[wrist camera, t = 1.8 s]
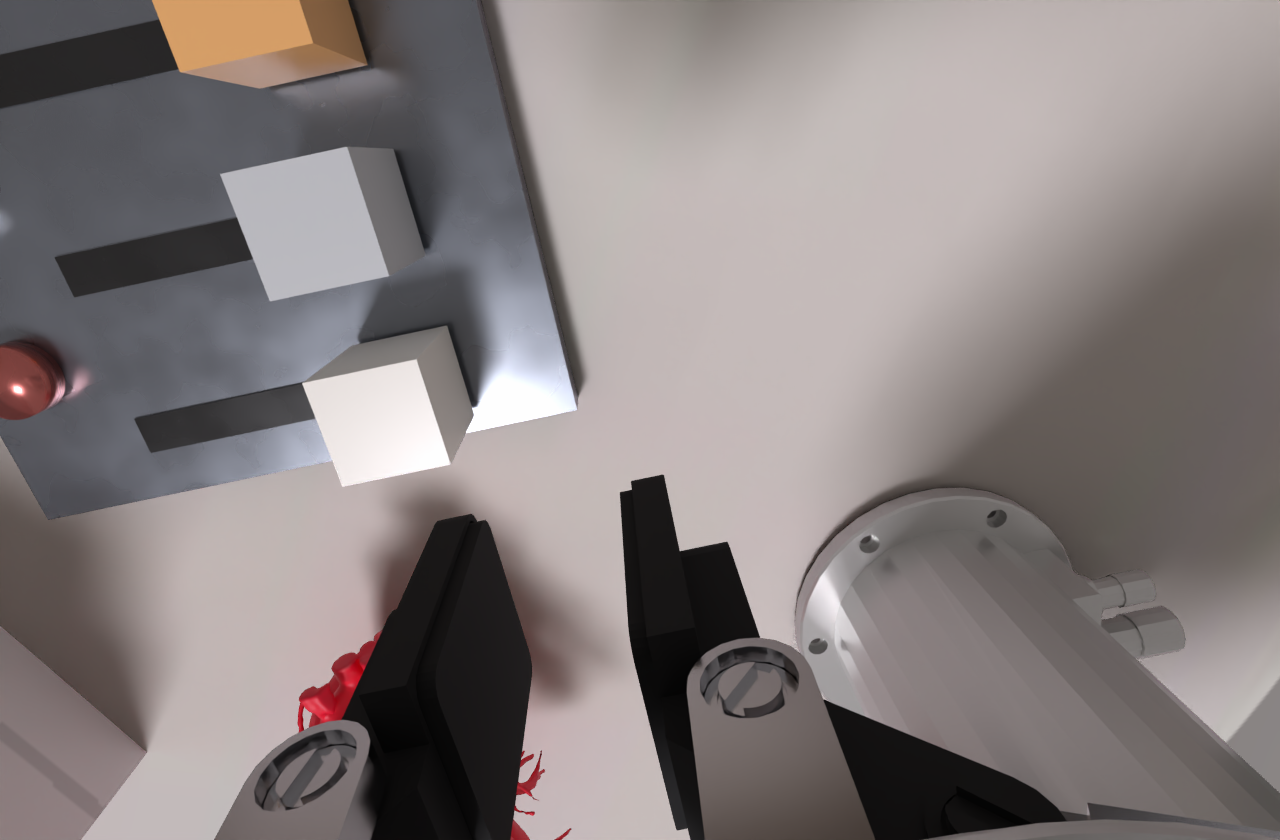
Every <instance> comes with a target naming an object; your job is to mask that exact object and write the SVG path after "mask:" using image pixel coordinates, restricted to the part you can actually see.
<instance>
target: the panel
mask: <svg viewBox="0 0 1280 840" xmlns="http://www.w3.org/2000/svg"><path fill="white" fill-rule="evenodd" d="M348 2H349V5H350V9H351V12H352V15H353V18H354V22H355V25H356V28H357V32H358V35H359V38H360V41H361V45H362V48H363V51H364V55H365V58H366V61H367V64H368V65H366V66H361V67H357V68H352V69H348V70H343V71H339V72H334V73H329V74H325V75H320V76H316V77H311V78H306V79H302V80H297V81H293V82H288V83H284V84H279V85H274V86H270V87H265V88H261V89H259V88H254V87H249V86H244V85H239V84H235V83H230V82H225V81H220V80H215V79H210V78H205V77H200V76H196V75H191V74H186V73H181V72H180V71H179V68H178V66H177V63H176V61H175V58H174V56H173V53H172V50H171V48H170V45H169V43H168V40H167V38H166V35H165V33H164V30H163V27H162V25H161V22H160V20H159V17H158V15H157V12H156V10H155V7H154V5H153V2H152V0H0V436H1V438H2V440H3V441H4V443H5V445H6V447H7V448H8V450H9V452H10V454H11V455H12V457H13V459H14V461H15V462H16V464H17V466H18V468H19V469H20V471H21V473H22V475H23V476H24V478H25V480H26V482H27V483H28V485H29V487H30V489H31V491H32V492H33V494H34V496H35V498H36V499H37V501H38V503H39V505H40V506H41V508H42V510H43V512H44V513H45V515H46V517H47V519H48V520H50V519H55V518H60V517H64V516H69V515H74V514H79V513H84V512H88V511H93V510H98V509H103V508H108V507H112V506H117V505H122V504H127V503H132V502H137V501H141V500H146V499H151V498H156V497H161V496H165V495H170V494H175V493H180V492H185V491H189V490H194V489H199V488H204V487H209V486H214V485H218V484H223V483H228V482H233V481H238V480H242V479H247V478H252V477H257V476H262V475H266V474H271V473H276V472H281V471H286V470H291V469H295V468H300V467H305V466H310V465H315V464H319V463H324V462H329V461H332V459H331V456H330V453H329V451H328V448H327V446H326V443H325V441H324V438H323V436H322V433H321V431H320V428H319V425H318V423H317V420H316V418H315V415H314V413H313V410H312V408H311V405H310V402H309V400H308V397H307V395H306V392H305V390H304V387H303V385H302V383H303V382H304V381H306V380H307V379H308V378H310V377H311V376H312V375H314V374H315V373H316V372H318V371H319V370H320V369H321V368H323V367H324V366H325V365H327V364H328V363H329V362H331V361H332V360H333V359H335V358H336V357H337V356H339V355H340V354H341V353H343V352H344V351H345V350H347V349H348V348H349V347H351V346H352V345H357V344H362V343H366V342H371V341H376V340H381V339H385V338H390V337H395V336H399V335H404V334H409V333H414V332H418V331H423V330H428V329H433V328H437V327H442V326H447V327H448V330H449V334H450V337H451V340H452V343H453V347H454V350H455V353H456V357H457V360H458V363H459V366H460V370H461V373H462V376H463V380H464V383H465V386H466V389H467V393H468V396H469V399H470V403H471V406H472V409H473V412H474V417H473V419H472V421H471V424H470V426H469V428H468V430H467V432H466V433H469V432H473V431H478V430H483V429H488V428H493V427H497V426H502V425H507V424H512V423H517V422H522V421H526V420H531V419H536V418H541V417H546V416H550V415H555V414H560V413H565V412H570V411H574V410H577V406H578V394H577V390H576V386H575V382H574V378H573V374H572V370H571V366H570V362H569V358H568V354H567V350H566V346H565V341H564V337H563V333H562V329H561V325H560V321H559V317H558V313H557V309H556V305H555V301H554V297H553V293H552V288H551V284H550V280H549V276H548V272H547V268H546V264H545V260H544V256H543V252H542V248H541V244H540V240H539V235H538V231H537V227H536V223H535V219H534V215H533V211H532V207H531V203H530V199H529V195H528V191H527V187H526V182H525V178H524V174H523V170H522V166H521V162H520V158H519V154H518V150H517V146H516V142H515V138H514V133H513V129H512V125H511V121H510V117H509V113H508V109H507V105H506V101H505V97H504V93H503V89H502V85H501V80H500V76H499V72H498V68H497V64H496V60H495V56H494V52H493V48H492V44H491V40H490V36H489V32H488V27H487V23H486V19H485V15H484V11H483V7H482V3H481V0H348ZM343 147H366V148H388V149H393V150H394V153H395V156H396V160H397V163H398V166H399V169H400V173H401V176H402V179H403V183H404V186H405V189H406V192H407V196H408V199H409V202H410V206H411V209H412V212H413V215H414V219H415V222H416V225H417V229H418V232H419V235H420V238H421V242H422V245H423V248H424V252H425V255H426V256H424V257H422V258H421V259H419V260H417V261H415V262H413V263H412V264H410V265H408V266H406V267H405V268H403V269H401V270H399V271H397V272H396V273H394V274H392V275H390V276H388V277H383V278H378V279H373V280H369V281H364V282H359V283H355V284H350V285H345V286H340V287H336V288H331V289H326V290H322V291H317V292H312V293H308V294H303V295H298V296H293V297H289V298H284V299H279V300H275V301H270V300H269V298H268V295H267V293H266V290H265V288H264V285H263V283H262V280H261V277H260V275H259V272H258V270H257V267H256V265H255V262H254V260H253V257H252V254H251V252H250V249H249V247H248V244H247V242H246V239H245V237H244V234H243V232H242V229H241V226H240V224H239V221H238V219H237V216H236V214H235V211H234V209H233V206H232V203H231V201H230V198H229V196H228V193H227V191H226V188H225V186H224V183H223V181H222V178H221V175H220V174H223V173H227V172H232V171H237V170H241V169H246V168H250V167H255V166H260V165H264V164H269V163H274V162H278V161H283V160H287V159H292V158H297V157H301V156H306V155H311V154H315V153H320V152H324V151H329V150H334V149H338V148H343Z"/></svg>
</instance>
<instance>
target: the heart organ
mask: <svg viewBox="0 0 1280 840" xmlns="http://www.w3.org/2000/svg"><path fill="white" fill-rule="evenodd" d="M381 632H382V631H380V632H379V633H377V634H376V635H375V636H374V641H369V642H367V643H365V644H364V645H363V646H362V647H361V648H360V652H359V653H358V654H355V653H348V654H345V655H343V656H341V657H340V658H339V659H338V660H336V661H335V662H334V664H333V666H332V671H333V673H334V676H333V677H332V679H331V680H330V682H329V683H327V684H325V685H324V686H322V687H321V688H318V689H317V688H316V687H314V686H312V687H311V688H308V689H306V690H305V691H304V692H303V693H302V694H301V696H300V697H299V701H300V702H301V703H300V706H299V712H298V726H299V732H301V731H303V730H304V727H303V716H302V714H303V709H304V707H305V708H306V709H307V710H308V711H310V712H311V713H312V716H311V719H310V724H309V727H312V726H315V725H319V724H322V723H325V722H328V721H338V720H341V719H342V717H343V715H344V713H345V711H346V709H347V706H348V704H349V702H350V700H351V698H352V695H353V693H354V691H355V689H356V687H357V685H358V682H359V680H360V678H361V676H362V674H363V671H364V669H365V667H366V665H367V663H368V661H369V658H370V656H371V654H372V652H373V650H374V647H375V645H376V643H377V641H378V639H379V637H380V634H381ZM524 752H525V751H523V752H522V755H521V757H522V756H523V754H524ZM540 752H542V751H540ZM541 755H542V753H541V754H540V758H541ZM533 757H534V754H531V755H529V756H527V757H525V758H524V759H522V760H521V763H520V767H521V766H523V765H524V764H525V763H526V762H527V761H529V760H531V759H532V758H533ZM540 758H539V761H538V763H537V765H536V768H535V770H534V772H533V773H532V775H531V777H530V778H529V780H528V781H526V782H524V783H519V782H518V786H517V793H516V795H521V794H525V793H526V794H528V795H529V796H532V794H531V792H530V790H531V789H533V788H535V786H536V783H537V781H538V780H539V779H540V777H541V776H540V775H541V774H542V773H544V772H545V770H544V769H543V770H541V771H540V772H539V767H540ZM532 798H533V797H532ZM533 799H535V798H533ZM535 800H537V799H535ZM514 810H515V811H518V812H524V811H519V810H518V809H517V808H516V806H515V809H514ZM524 813H525V814H530V815H532V816H533V815H534V814H535V812H532V811H531V812H524ZM570 830H571V828H570V829H569V830H567V831H566V832H565V833H564V834H563V835H561V836H560V837H558V838H557V839H555V840H562V839H563V837H565V836H566V835H568V833H569V831H570ZM511 840H530V839H529V837H528V836H527V835H526V833H525V832H524V831H523V830H522V829H521V828H520V826H519V825H518V824H517V823H516V822H515V821H514V820H513V824H512V832H511Z"/></svg>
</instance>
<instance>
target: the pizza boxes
mask: <svg viewBox="0 0 1280 840" xmlns="http://www.w3.org/2000/svg"><path fill="white" fill-rule="evenodd" d="M146 753H147V752H146V751H145V750H144V749H142V748H141V747H140V746H139V745H138V744H137V743H135V742H134V741H133V740H132V739H131V738H130V737H129V736H127V735H126V734H125V733H124V732H123V731H122V730H120V729H119V728H118V727H117V726H116V725H115V724H113V723H112V722H111V721H110V720H109V719H108V718H106V717H105V716H104V715H103V714H102V713H101V712H100V711H98V710H97V709H96V708H95V707H94V706H93V705H91V704H90V703H89V702H88V701H87V700H86V699H84V698H83V697H82V696H81V695H80V694H79V693H78V692H76V691H75V690H74V689H73V688H72V687H71V686H69V685H68V684H67V683H66V682H65V681H64V680H62V679H61V678H60V677H59V676H58V675H57V674H55V673H54V672H53V671H52V670H51V669H50V668H49V667H47V666H46V665H45V664H44V663H43V662H42V661H40V660H39V659H38V658H37V657H36V656H35V655H33V654H32V653H31V652H30V651H29V650H28V649H27V648H25V647H24V646H23V645H22V644H21V643H20V642H18V641H17V640H16V639H15V638H14V637H13V636H11V635H10V634H9V633H8V632H7V631H6V630H5V629H3V628H2V627H1V626H0V840H81V839H82V838H83V836H84V835H85V834H86V832H87V831H88V830H89V828H90V827H91V826H92V824H93V823H94V822H95V820H96V819H97V818H98V816H99V815H100V814H101V813H102V811H103V810H104V809H105V807H106V806H107V805H108V803H109V802H110V801H111V799H112V798H113V797H114V795H115V794H116V793H117V792H118V790H119V789H120V788H121V786H122V785H123V784H124V782H125V781H126V780H127V778H128V777H129V776H130V774H131V773H132V772H133V770H134V769H135V768H136V767H137V765H138V764H139V763H140V761H141V760H142V759H143V757H144V756H145V755H146Z"/></svg>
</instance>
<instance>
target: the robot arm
mask: <svg viewBox="0 0 1280 840" xmlns="http://www.w3.org/2000/svg"><path fill="white" fill-rule="evenodd" d="M631 485H632V490H629V491H624V492H620V501H621V517H622V533H623V549H624V565H625V581H626V596H627V612H628V627H629V636H630V642H631V648H632V653H633V658H634V663H635V667H636V671H637V675H638V679H639V683H640V687H641V691H642V695H643V699H644V703H645V707H646V711H647V715H648V719H649V723H650V727H651V731H652V735H653V739H654V743H655V747H656V751H657V755H658V759H659V763H660V767H661V771H662V775H663V779H664V783H665V787H666V791H667V795H668V799H669V803H670V807H671V811H672V815H673V819H674V822H675V826H676V829H677V830H682V829H687V828H688V831H689V835H690V839H691V840H1280V793H1279V792H1278V791H1277V790H1276V789H1275V788H1274V787H1273V786H1272V785H1271V784H1270V783H1268V782H1267V781H1266V780H1265V779H1264V778H1263V777H1262V776H1261V775H1260V774H1259V773H1258V772H1257V771H1256V770H1255V769H1253V768H1252V767H1251V766H1250V765H1249V764H1248V763H1247V762H1246V761H1245V760H1244V759H1243V758H1242V757H1240V755H1238V754H1237V753H1236V752H1235V751H1234V750H1233V749H1232V748H1231V747H1230V746H1229V745H1228V744H1227V743H1226V742H1225V741H1223V740H1222V739H1221V738H1220V737H1219V736H1218V735H1217V734H1216V733H1215V732H1214V731H1213V730H1212V729H1211V728H1209V727H1208V726H1207V725H1206V724H1205V723H1204V722H1203V721H1202V720H1201V719H1200V718H1199V717H1198V716H1197V715H1196V714H1194V713H1193V712H1192V711H1191V710H1190V709H1189V708H1188V707H1187V706H1186V705H1185V704H1184V703H1183V702H1182V701H1181V700H1179V699H1178V698H1177V697H1176V696H1175V695H1174V694H1173V693H1172V692H1171V691H1170V690H1169V689H1168V688H1167V687H1166V686H1164V685H1163V684H1162V683H1161V682H1160V681H1159V680H1158V679H1157V678H1156V677H1155V676H1154V675H1153V674H1152V673H1150V672H1149V671H1148V670H1147V669H1146V668H1145V667H1144V666H1143V665H1142V664H1141V663H1140V662H1139V661H1138V660H1137V659H1141V658H1146V657H1151V656H1156V655H1161V654H1166V653H1172V652H1177V651H1180V650H1181V649H1183V648H1184V645H1185V641H1186V639H1185V634H1184V629H1183V628H1182V626H1181V624H1180V622H1179V620H1178V618H1177V617H1176V616H1175V615H1174V614H1173V613H1172V612H1171V611H1170V610H1169V609H1167V608H1165V607H1163V606H1158V607H1153V608H1148V609H1143V610H1138V611H1132V612H1127V613H1122V614H1117V615H1116V617H1114V618H1109V619H1104V620H1101V616H1102V612H1103V609H1107V608H1112V607H1117V606H1118V607H1120V608H1121V607H1126V606H1131V605H1136V604H1141V603H1146V602H1150V601H1154V599H1155V597H1156V589H1155V585H1154V583H1153V581H1152V579H1151V578H1150V576H1149V575H1148V574H1147V573H1146V572H1145V571H1142V570H1140V569H1137V570H1132V571H1127V572H1122V573H1117V574H1112V575H1108V576H1106V577H1105V578H1100V579H1095V580H1090V579H1089V578H1088V577H1086V576H1082V575H1078V574H1076V573H1075V572H1074V571H1073V570H1072V565H1071V563H1070V561H1069V558H1068V556H1067V553H1066V551H1065V549H1064V546H1063V545H1062V544H1061V542H1060V541H1059V540H1058V538H1057V537H1056V536H1055V534H1054V533H1053V532H1052V530H1051V529H1050V528H1049V527H1048V526H1046V525H1045V524H1044V523H1043V522H1042V521H1041V520H1040V519H1038V518H1037V517H1036V516H1035V515H1034V514H1033V513H1031V512H1030V511H1028V510H1027V509H1025V508H1024V507H1022V506H1020V505H1019V504H1017V503H1016V502H1014V501H1013V500H1011V499H1008V498H1005V497H1002V496H1000V495H997V494H994V493H991V492H989V491H982V490H976V489H969V488H935V489H930V490H926V491H921V492H916V493H911V494H907V495H904V496H902V497H899V498H896V499H894V500H891V501H889V502H886V503H883V504H881V505H879V506H878V507H876V508H874V509H872V510H871V511H869V512H867V513H865V514H864V515H862V516H860V517H858V518H857V519H856V520H855V521H853V522H852V523H851V524H850V525H848V526H847V527H846V528H845V529H843V530H842V531H841V532H840V533H839V534H837V535H836V536H835V537H834V538H833V540H832V541H831V542H830V543H829V544H828V545H827V546H826V548H825V549H824V550H823V551H822V552H821V553H820V554H819V556H818V557H817V559H816V561H815V562H814V564H813V566H812V567H811V569H810V571H809V572H808V574H807V576H806V578H805V580H804V583H803V586H802V589H801V591H800V594H799V597H798V601H797V608H796V615H795V631H796V642H797V645H798V648H799V651H800V653H799V652H798V651H796V650H795V649H794V648H793V647H791V646H789V645H786V644H784V643H781V642H779V641H776V640H771V639H764V638H760V636H759V633H758V630H757V627H756V624H755V621H754V618H753V615H752V612H751V609H750V606H749V603H748V600H747V597H746V594H745V591H744V589H743V586H742V583H741V580H740V577H739V574H738V571H737V568H736V565H735V562H734V559H733V556H732V553H731V550H730V547H729V544H728V542H723V543H718V544H713V545H709V546H704V547H699V548H694V549H689V550H684V551H679V546H678V541H677V536H676V532H675V527H674V522H673V517H672V512H671V507H670V503H669V498H668V493H667V488H666V483H665V479H664V475H659V476H654V477H649V478H644V479H639V480H634V481H631ZM1135 658H1137V659H1135ZM531 678H532V664H531V657H530V653H529V649H528V646H527V643H526V640H525V637H524V633H523V630H522V627H521V624H520V621H519V618H518V614H517V611H516V608H515V605H514V602H513V598H512V595H511V592H510V589H509V586H508V583H507V579H506V576H505V573H504V570H503V567H502V564H501V560H500V557H499V554H498V551H497V548H496V545H495V541H494V538H493V535H492V532H491V529H490V526H489V524H488V522H487V521H486V520H483V521H478V522H477V520H476V519H475V517H474V516H473V515H472V514H469V515H464V516H459V517H454V518H450V519H445V520H440V521H437V522H436V523H435V525H434V528H433V530H432V532H431V534H430V537H429V539H428V541H427V543H426V545H425V548H424V550H423V552H422V554H421V557H420V559H419V561H418V563H417V566H416V568H415V570H414V572H413V575H412V577H411V579H410V581H409V583H408V586H407V588H406V590H405V592H404V595H403V597H402V599H401V601H400V604H399V606H398V608H397V609H396V610H394V611H392V613H391V614H390V616H389V617H388V619H387V621H386V624H385V626H384V628H383V630H382V632H381V634H380V637H379V639H378V641H377V643H376V645H375V647H374V650H373V652H372V654H371V656H370V658H369V661H368V663H367V665H366V667H365V669H364V671H363V674H362V676H361V678H360V680H359V682H358V685H357V687H356V689H355V691H354V693H353V695H352V698H351V700H350V702H349V704H348V706H347V709H346V711H345V713H344V715H343V717H342V719H341V720H338V721H328V722H325V723H322V724H319V725H315V726H312V727H309V728H307V729H305V730H303V731H301V732H299V733H298V734H296V735H294V736H292V737H290V738H288V739H287V740H286V741H284V742H283V743H282V744H280V745H279V746H277V747H276V748H275V749H273V750H272V751H271V752H270V753H269V754H268V755H267V756H266V757H265V758H264V759H263V760H262V761H261V762H260V763H259V764H258V765H257V766H256V767H255V768H254V770H253V771H252V773H251V774H250V776H249V777H248V779H247V780H246V781H245V783H244V785H243V787H242V789H241V791H240V792H239V794H238V796H237V798H236V800H235V802H234V804H233V805H232V807H231V809H230V811H229V813H228V815H227V817H226V819H225V820H224V822H223V824H222V826H221V828H220V830H219V832H218V833H217V835H216V837H215V839H214V840H511V832H512V824H513V816H514V809H515V801H516V793H517V786H518V778H519V770H520V763H521V755H522V747H523V739H524V732H525V724H526V716H527V709H528V701H529V693H530V686H531ZM821 693H822V695H823V696H824V697H825V698H826V699H827V700H828V701H826V700H824V699H823V698H822V695H821Z"/></svg>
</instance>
